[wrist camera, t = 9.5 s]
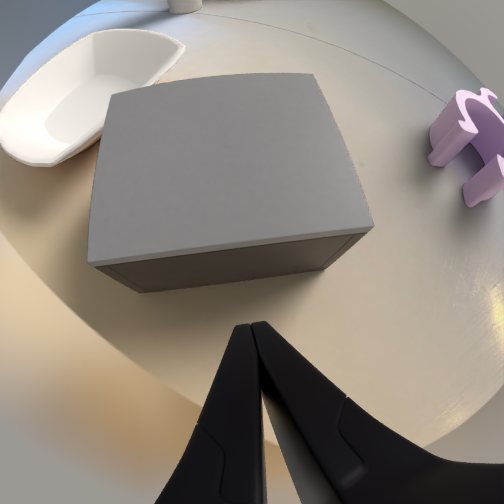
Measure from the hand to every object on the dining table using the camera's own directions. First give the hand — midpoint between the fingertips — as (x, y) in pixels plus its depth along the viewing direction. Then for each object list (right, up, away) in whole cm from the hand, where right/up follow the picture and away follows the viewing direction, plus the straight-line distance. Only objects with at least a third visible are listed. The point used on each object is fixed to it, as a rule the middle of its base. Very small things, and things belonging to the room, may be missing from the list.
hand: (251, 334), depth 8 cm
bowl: (-19, +19, +19) cm, 33 cm away
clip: (+30, +16, +21) cm, 40 cm away
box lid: (-2, +8, +8) cm, 12 cm away
